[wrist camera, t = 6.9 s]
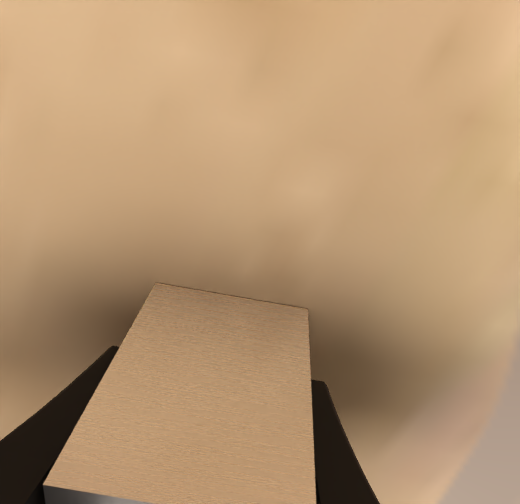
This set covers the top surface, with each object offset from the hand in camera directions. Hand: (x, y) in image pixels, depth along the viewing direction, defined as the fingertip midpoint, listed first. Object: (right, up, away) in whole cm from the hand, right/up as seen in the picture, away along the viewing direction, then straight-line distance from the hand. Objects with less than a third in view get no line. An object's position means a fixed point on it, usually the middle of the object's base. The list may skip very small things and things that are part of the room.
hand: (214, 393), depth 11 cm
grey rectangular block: (0, +1, +1) cm, 1 cm away
